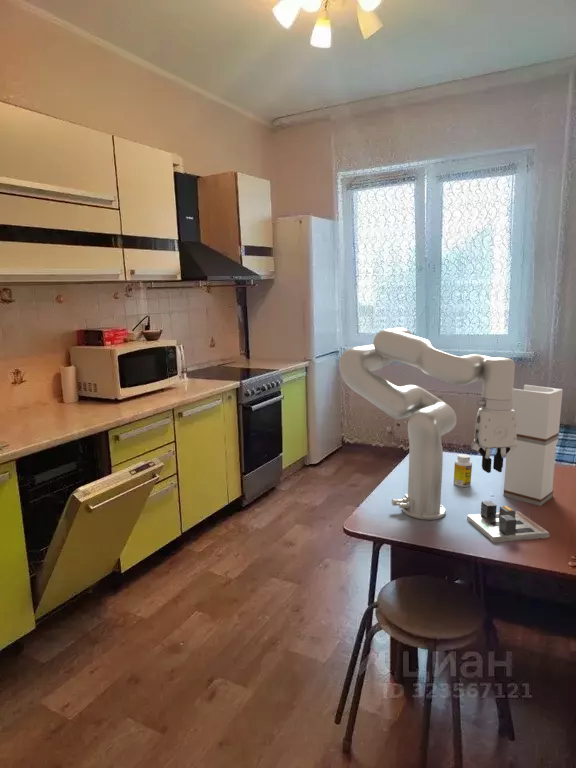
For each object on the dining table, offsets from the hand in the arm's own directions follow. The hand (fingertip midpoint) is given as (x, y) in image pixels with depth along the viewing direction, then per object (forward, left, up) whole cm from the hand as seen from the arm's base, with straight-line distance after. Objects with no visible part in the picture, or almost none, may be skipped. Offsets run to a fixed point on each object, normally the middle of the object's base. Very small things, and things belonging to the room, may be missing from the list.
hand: (491, 470), depth 142 cm
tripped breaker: (+5, 0, -15) cm, 16 cm away
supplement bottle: (+10, +34, -17) cm, 39 cm away
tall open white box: (+26, +21, -17) cm, 37 cm away
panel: (+6, 0, -17) cm, 18 cm away
